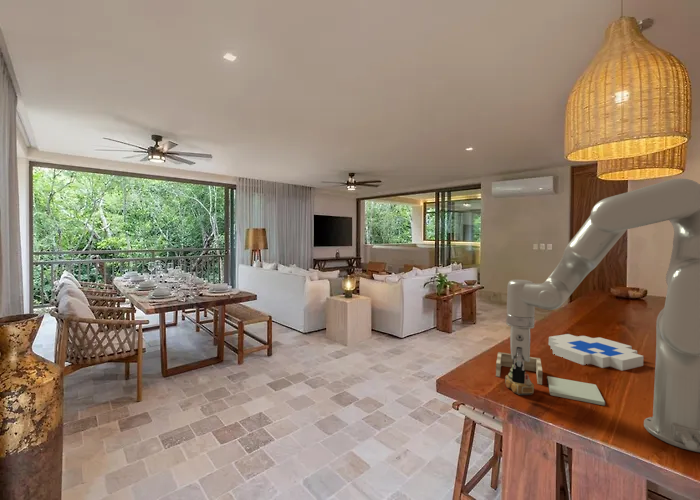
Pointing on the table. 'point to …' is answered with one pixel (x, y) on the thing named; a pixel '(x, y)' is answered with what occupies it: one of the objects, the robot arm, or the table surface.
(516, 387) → the ornament
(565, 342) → the pixel art tile
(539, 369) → the shelf bay
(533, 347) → the table surface
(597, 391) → the tile mat
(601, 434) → the table surface
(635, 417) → the table surface
